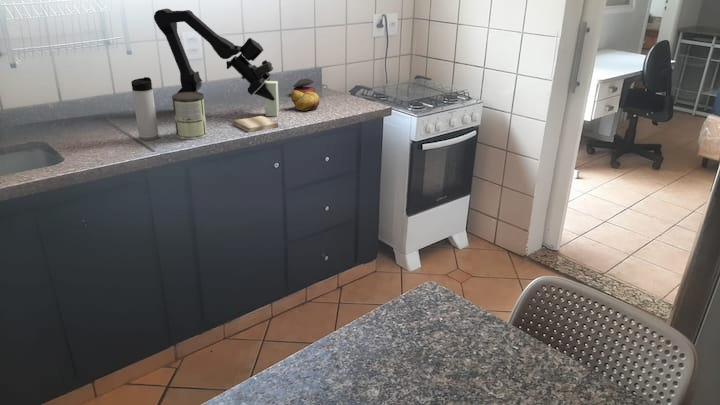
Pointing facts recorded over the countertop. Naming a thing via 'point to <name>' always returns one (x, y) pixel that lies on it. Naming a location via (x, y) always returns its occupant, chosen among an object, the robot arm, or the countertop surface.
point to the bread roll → (305, 100)
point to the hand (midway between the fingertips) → (275, 98)
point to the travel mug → (145, 109)
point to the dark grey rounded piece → (304, 85)
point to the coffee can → (189, 115)
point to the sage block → (270, 105)
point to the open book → (255, 123)
